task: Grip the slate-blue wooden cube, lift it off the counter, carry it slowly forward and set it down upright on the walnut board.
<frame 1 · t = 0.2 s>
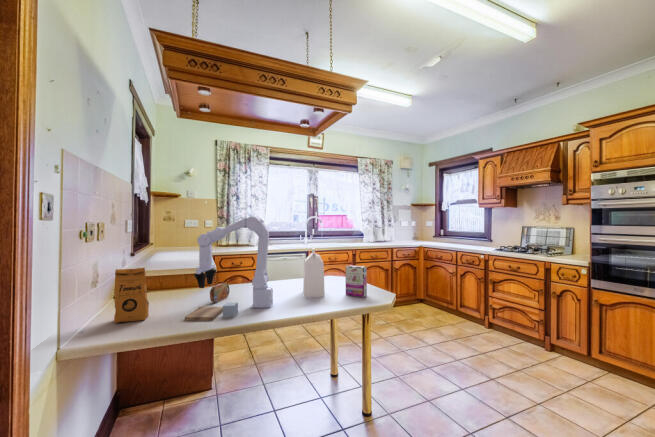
hand: (205, 286, 141), 10 cm above the countertop, tool pointing down, fingers open, 7 cm apart
candy bar box: (356, 295, 161), on the countertop
tin: (219, 300, 152), on the countertop
walnut board: (205, 315, 128), on the countertop
milk: (313, 294, 164), on the countertop
slate cube: (230, 315, 128), on the countertop
coffee package: (132, 320, 122), on the countertop
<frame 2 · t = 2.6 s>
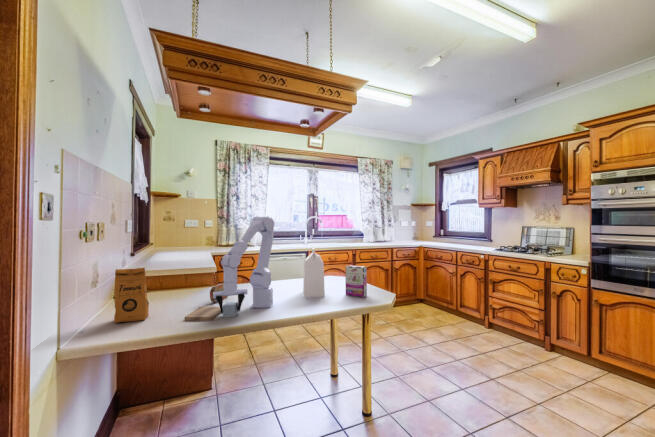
hand: (230, 311, 128), 1 cm above the countertop, tool pointing down, fingers closed on slate cube, 7 cm apart
slate cube: (230, 315, 128), on the countertop, touching gripper
everything else where it was.
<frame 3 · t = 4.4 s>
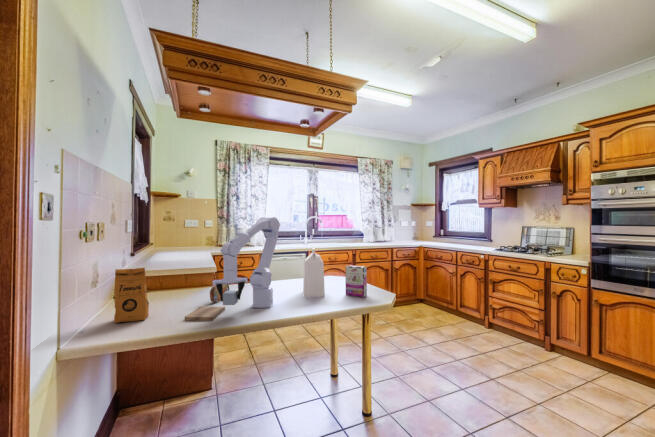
hand: (230, 300, 128), 7 cm above the countertop, tool pointing down, fingers closed on slate cube, 7 cm apart
slate cube: (230, 303, 128), point 5 cm above the countertop, touching gripper
everything else where it was.
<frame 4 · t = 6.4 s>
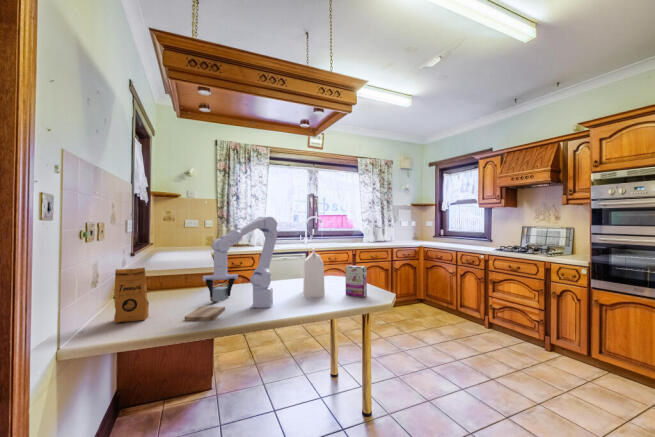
hand: (220, 296, 128), 8 cm above the countertop, tool pointing down, fingers closed on slate cube, 7 cm apart
slate cube: (220, 299, 128), point 7 cm above the countertop, touching gripper
everything else where it was.
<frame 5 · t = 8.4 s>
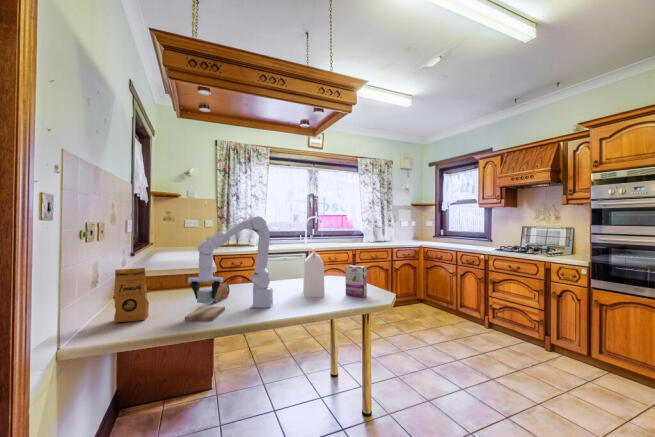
hand: (205, 298, 128), 7 cm above the countertop, tool pointing down, fingers closed on slate cube, 7 cm apart
slate cube: (205, 301, 128), point 6 cm above the countertop, touching gripper
everything else where it was.
when the fingers open (4 cm above the countertop, at t = 10.2 s): slate cube stays where it is, resting on walnut board.
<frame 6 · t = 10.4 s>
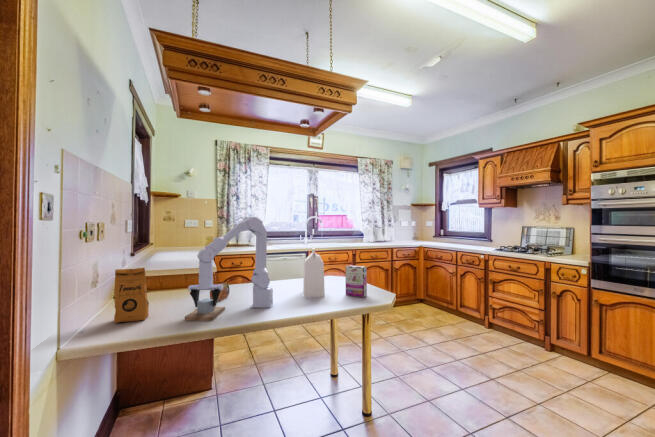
hand: (205, 306, 128), 4 cm above the countertop, tool pointing down, fingers open, 7 cm apart
slate cube: (205, 311, 128), point 1 cm above the countertop, touching walnut board
everything else where it was.
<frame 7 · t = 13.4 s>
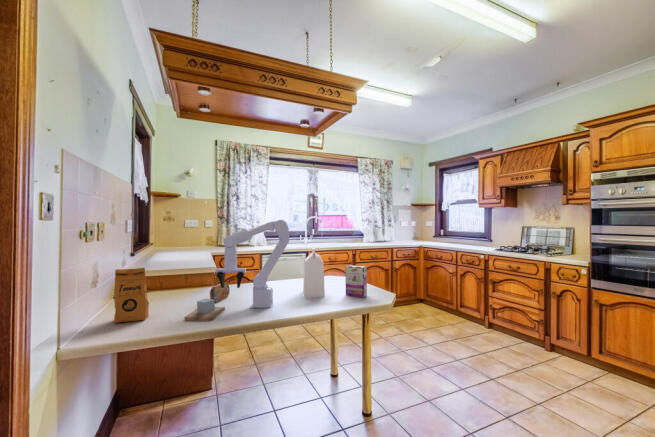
hand: (230, 287, 140), 9 cm above the countertop, tool pointing down, fingers open, 7 cm apart
nothing on the countertop moved.
at the end: slate cube inside the target area on the walnut board (0.0 cm from its centre), point 1.5 cm above the walnut board's base; slate cube tilted 0°; the gripper is holding nothing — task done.
